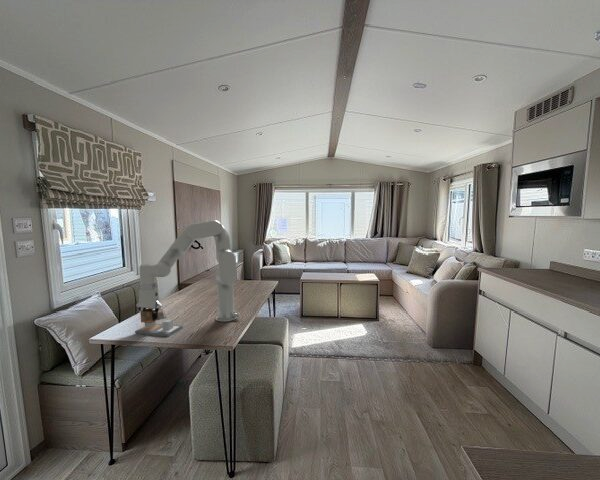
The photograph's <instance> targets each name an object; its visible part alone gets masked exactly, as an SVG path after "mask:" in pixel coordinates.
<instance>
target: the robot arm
mask: <svg viewBox="0 0 600 480" xmlns="http://www.w3.org/2000/svg"><path fill="white" fill-rule="evenodd" d="M209 237H213V238H214V241H215V242H214V243H215V259H216V261H217V263H218V269H217V271H216V272H215V280H216V288H217V315H216V316H215V320H216V321H217V322H220V323H223V322H227V323H228V322H231V321H235V320H237V318H240V317H241V313H240V312H237V310H236V309H235V290H234V283H235V282H236V280H237V277H238V276H237V273H238V272H237V260H236V256H235V253H234V252H233V251H232V248H231V239H230V235H229V231H228V230H227V229H226V227H224V225H223V224H222V223H221V222H220V221H218V220H216V219H212V220H211V219H210V220H208V221H205V222H204V221H203V222H197V223H189V224H187V225H186V226H185V227H184V228H183V230H182V231H181V232H180V234H179V235H178V236H177V238H176V239H175V240H174V241H173V243H172V244H171V245H170V246H169V249H167V251H166V252H165V253H164V254H163V256H162V257H161V258H160V259H159V261H158V262H157V264H154V263H143V264H140V265H139V284H140V285H139V286H140V287H139V288H140V289H139V291H138V302H137V303H136V304H135V305H136V306H135V307H136V308H138V310H139V312H140V311H143V310H145V309H148V308H152V311H153V313H152V317H153V321H154V320H156V319H158V314H157V312H158V311H159V310H160V309H162V307H163V304H162V303H161V299H160V293H159V289H158V284H157V278H166V277H168V276H169V275H170V274H171V269H172V267H173V266H174V265H175V263H176V262H177V261H178V260H179V259H180V258H181V257H182V256H184V255H185V254H186V253H187V252H188V250H189V249H190V247H191V246H192V245H193V244H194V242H195V241H196V240H198V239H200V240H201V239H204V238H209ZM157 306H158V308H157ZM154 308H155V309H154ZM158 320H159V319H158ZM156 321H157V320H156Z"/></svg>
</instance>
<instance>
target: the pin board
mask: <svg viewBox="0 0 600 480" xmlns="http://www.w3.org/2000/svg"><path fill="white" fill-rule="evenodd" d="M156 321H157V320H156ZM156 321H154V322H152V323H144V326H143V327H141V328H139V329H137V330H135V331H134V333H136V334H135V335H141V334H145V335H146V336H155V337H170V336H172V335H174V334H175V333H177V332H179V331H180V330H182V329H183V325H182V324H181V325H180V324H174V319H167V318H166V319H165V320H164V321H162V323H156ZM145 335H144V336H145Z"/></svg>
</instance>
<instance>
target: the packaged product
mask: <svg viewBox="0 0 600 480" xmlns="http://www.w3.org/2000/svg"><path fill="white" fill-rule="evenodd" d="M157 308H158V306H157ZM154 309H155V308H154ZM163 319H167V314H166V312H165V311H164V308H161V309H160V310H159V311H158V320H163Z"/></svg>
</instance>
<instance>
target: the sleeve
mask: <svg viewBox="0 0 600 480" xmlns="http://www.w3.org/2000/svg"><path fill="white" fill-rule="evenodd" d="M139 312H140V323H143V324H145V323H152V322H154V321H158V320H159V319H156V320H154V321H153V317H152V313H153V311H152V308H146V309H145V310H143V311H140V310H139ZM157 314H158V312H157Z"/></svg>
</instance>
